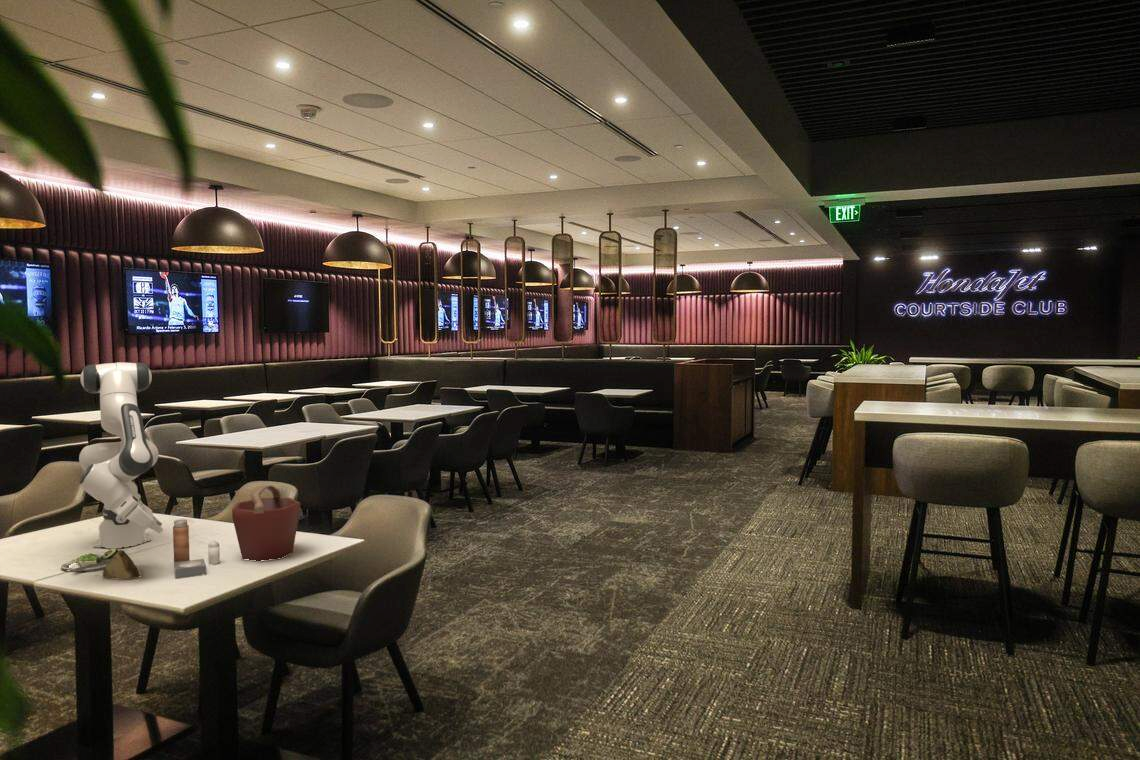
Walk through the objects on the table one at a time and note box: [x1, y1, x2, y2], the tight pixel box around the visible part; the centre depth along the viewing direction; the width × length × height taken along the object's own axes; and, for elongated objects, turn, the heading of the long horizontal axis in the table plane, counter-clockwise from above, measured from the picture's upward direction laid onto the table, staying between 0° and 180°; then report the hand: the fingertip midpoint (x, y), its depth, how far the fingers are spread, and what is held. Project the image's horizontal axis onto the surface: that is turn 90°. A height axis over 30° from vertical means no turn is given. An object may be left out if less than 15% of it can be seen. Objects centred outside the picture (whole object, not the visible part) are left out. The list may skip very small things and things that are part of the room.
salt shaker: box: [207, 540, 221, 565], centre depth 268 cm, size 4×4×8 cm
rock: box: [102, 549, 142, 580], centre depth 253 cm, size 11×9×10 cm
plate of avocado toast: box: [60, 548, 119, 573], centre depth 265 cm, size 19×18×5 cm
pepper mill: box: [172, 518, 191, 563], centre depth 264 cm, size 5×5×16 cm
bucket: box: [231, 484, 301, 562], centre depth 278 cm, size 24×22×25 cm
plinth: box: [173, 558, 207, 579], centre depth 257 cm, size 9×9×3 cm
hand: (161, 528), depth 259 cm, fingers open, 8 cm apart
